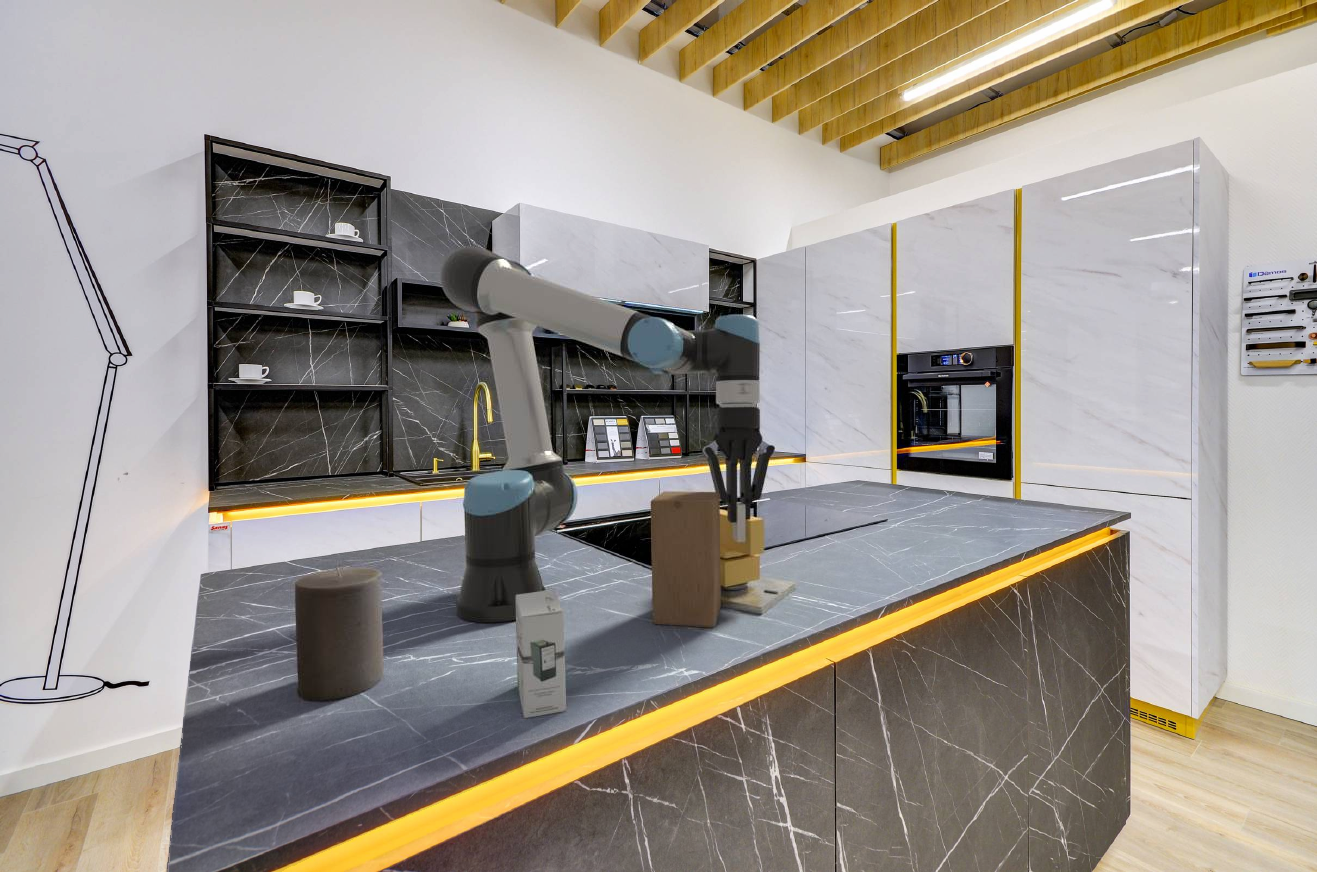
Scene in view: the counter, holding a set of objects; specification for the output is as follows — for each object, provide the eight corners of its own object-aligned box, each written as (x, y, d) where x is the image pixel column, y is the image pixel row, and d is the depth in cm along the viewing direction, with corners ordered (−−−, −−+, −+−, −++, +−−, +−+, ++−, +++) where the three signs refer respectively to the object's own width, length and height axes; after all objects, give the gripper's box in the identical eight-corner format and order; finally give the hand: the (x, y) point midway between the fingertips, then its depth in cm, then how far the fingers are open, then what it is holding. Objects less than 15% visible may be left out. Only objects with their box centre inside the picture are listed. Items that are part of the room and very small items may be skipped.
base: (660, 594, 106) (660, 541, 106) (703, 573, 120) (702, 525, 119) (761, 614, 95) (761, 554, 95) (796, 588, 109) (795, 535, 108)
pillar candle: (290, 708, 67) (286, 581, 66) (304, 673, 76) (301, 561, 75) (383, 692, 71) (380, 572, 70) (385, 660, 80) (383, 553, 79)
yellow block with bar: (733, 594, 98) (732, 523, 97) (680, 572, 111) (679, 510, 111) (781, 583, 103) (780, 516, 103) (725, 563, 117) (725, 504, 116)
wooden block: (714, 628, 89) (713, 500, 88) (652, 624, 91) (649, 499, 90) (721, 607, 99) (719, 491, 98) (664, 603, 101) (662, 490, 100)
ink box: (516, 685, 72) (513, 592, 71) (556, 678, 74) (553, 587, 73) (523, 720, 64) (520, 615, 63) (567, 711, 65) (565, 609, 65)
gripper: (708, 406, 95) (709, 547, 96) (781, 405, 98) (782, 542, 99) (696, 406, 102) (697, 537, 104) (764, 405, 105) (765, 533, 106)
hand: (739, 540), depth 101 cm, fingers closed
